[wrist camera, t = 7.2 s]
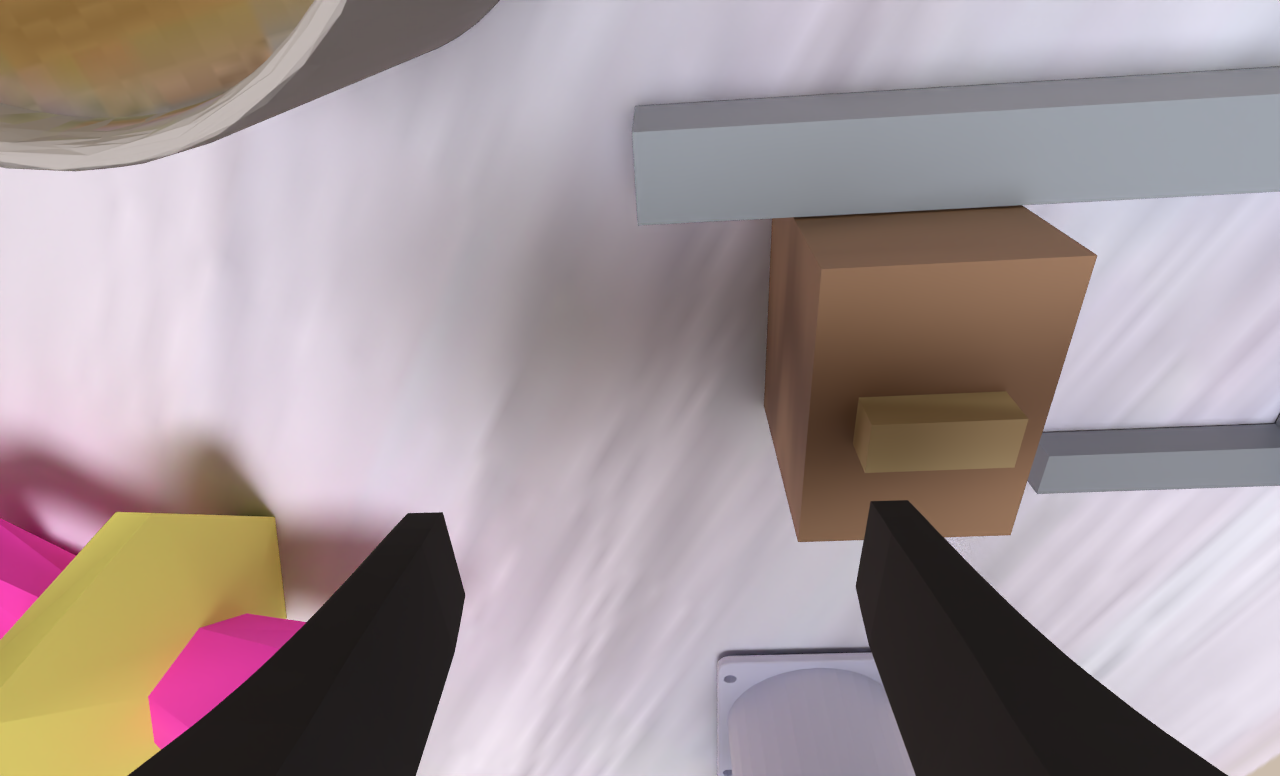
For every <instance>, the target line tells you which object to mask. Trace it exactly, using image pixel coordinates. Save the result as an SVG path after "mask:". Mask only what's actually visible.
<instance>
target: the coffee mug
mask: <svg viewBox="0 0 1280 776" xmlns="http://www.w3.org/2000/svg"><path fill="white" fill-rule="evenodd" d="M498 2H499V0H0V167H3V168H13V169H35V170H58V171H84V170H94V169H105V168H115V167H124V166H130V165H136V164H143V163H147V162H150V161H153V160H157V159H160V158H163V157H166V156H170V155H173V154H176V153H179V152H183V151H186V150H189V149H192V148H196V147H199V146H202V145H205V144H209V143H211V142H214V141H216V140H219V139H221V138H223V137H226V136H228V135H231V134H233V133H235V132H238V131H240V130H243V129H245V128H247V127H250V126H252V125H255V124H257V123H259V122H262V121H264V120H267V119H269V118H271V117H274V116H276V115H279V114H281V113H283V112H286V111H288V110H291V109H293V108H295V107H298V106H300V105H303V104H305V103H307V102H310V101H312V100H315V99H317V98H319V97H322V96H324V95H327V94H329V93H331V92H334V91H336V90H339V89H341V88H343V87H346V86H348V85H351V84H353V83H355V82H358V81H360V80H363V79H365V78H367V77H370V76H372V75H375V74H377V73H379V72H382V71H384V70H387V69H389V68H391V67H394V66H396V65H399V64H401V63H403V62H406V61H408V60H411V59H413V58H415V57H418V56H420V55H423V54H425V53H427V52H430V51H432V50H434V49H436V48H439V47H441V46H443V45H445V44H447V43H448V42H450V41H452V40H454V39H455V38H457V37H459V36H460V35H462V34H463V33H464V32H466V31H467V30H469V29H470V28H471V27H473V26H474V25H475V24H476V23H477V22H479V21H480V20H481V19H482V18H483V17H484V16H485V15H486V14H487V13H488V12H489V11H490V10H491V9H492V8H493V7H494V6H495V5H496V4H497V3H498Z"/></svg>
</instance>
